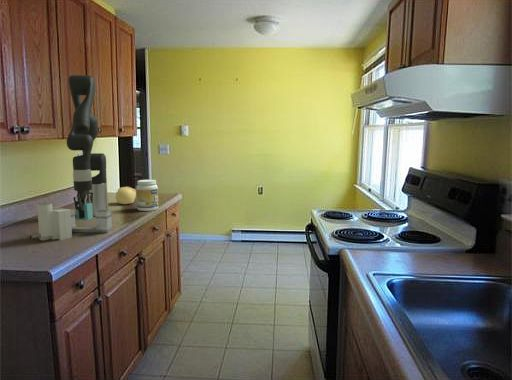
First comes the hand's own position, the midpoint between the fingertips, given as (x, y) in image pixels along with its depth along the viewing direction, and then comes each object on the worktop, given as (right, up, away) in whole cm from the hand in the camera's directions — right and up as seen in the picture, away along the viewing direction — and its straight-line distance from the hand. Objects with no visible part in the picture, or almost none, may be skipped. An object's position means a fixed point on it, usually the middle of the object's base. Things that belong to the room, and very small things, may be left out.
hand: (85, 216), depth 173 cm
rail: (0, -7, +1) cm, 7 cm away
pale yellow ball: (-4, +3, +68) cm, 68 cm away
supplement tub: (+14, +1, +50) cm, 52 cm away
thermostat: (-10, -9, -11) cm, 17 cm away
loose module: (0, -1, 0) cm, 1 cm away
